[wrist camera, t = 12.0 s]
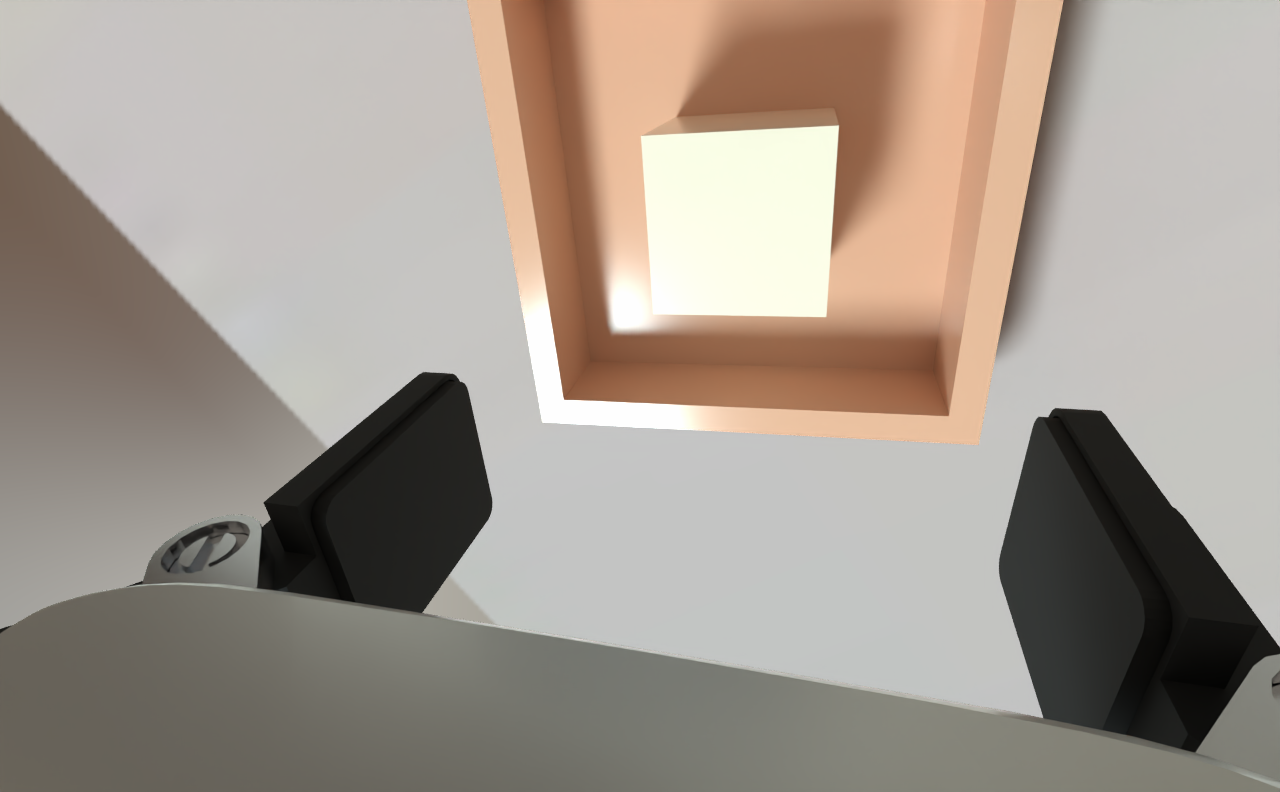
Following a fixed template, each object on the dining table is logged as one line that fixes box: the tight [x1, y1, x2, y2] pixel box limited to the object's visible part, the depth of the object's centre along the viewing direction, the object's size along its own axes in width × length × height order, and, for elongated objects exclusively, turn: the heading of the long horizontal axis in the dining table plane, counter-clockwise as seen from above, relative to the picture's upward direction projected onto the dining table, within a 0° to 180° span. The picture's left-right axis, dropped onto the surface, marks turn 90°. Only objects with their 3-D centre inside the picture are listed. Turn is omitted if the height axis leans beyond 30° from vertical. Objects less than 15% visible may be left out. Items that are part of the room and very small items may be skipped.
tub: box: [467, 0, 1063, 445], centre depth 25 cm, size 18×18×5 cm
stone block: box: [641, 107, 839, 317], centre depth 24 cm, size 6×6×6 cm
